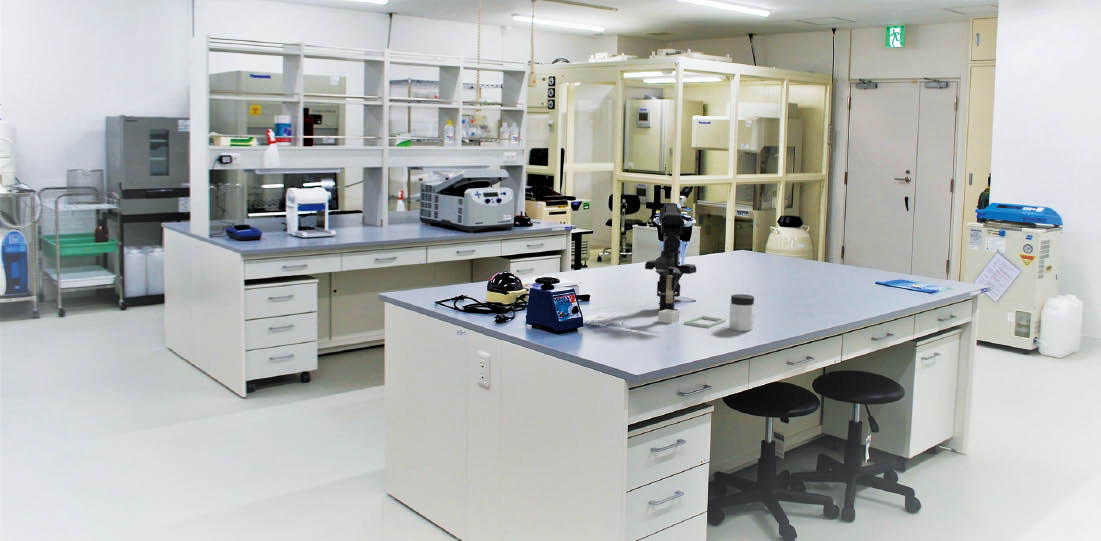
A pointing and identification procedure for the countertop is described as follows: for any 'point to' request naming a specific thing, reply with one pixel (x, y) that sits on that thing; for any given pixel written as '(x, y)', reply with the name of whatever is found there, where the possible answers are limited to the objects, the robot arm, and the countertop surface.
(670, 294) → the dowel
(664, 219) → the robot arm
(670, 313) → the white square tube
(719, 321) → the tray
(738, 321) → the jar
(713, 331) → the countertop surface
